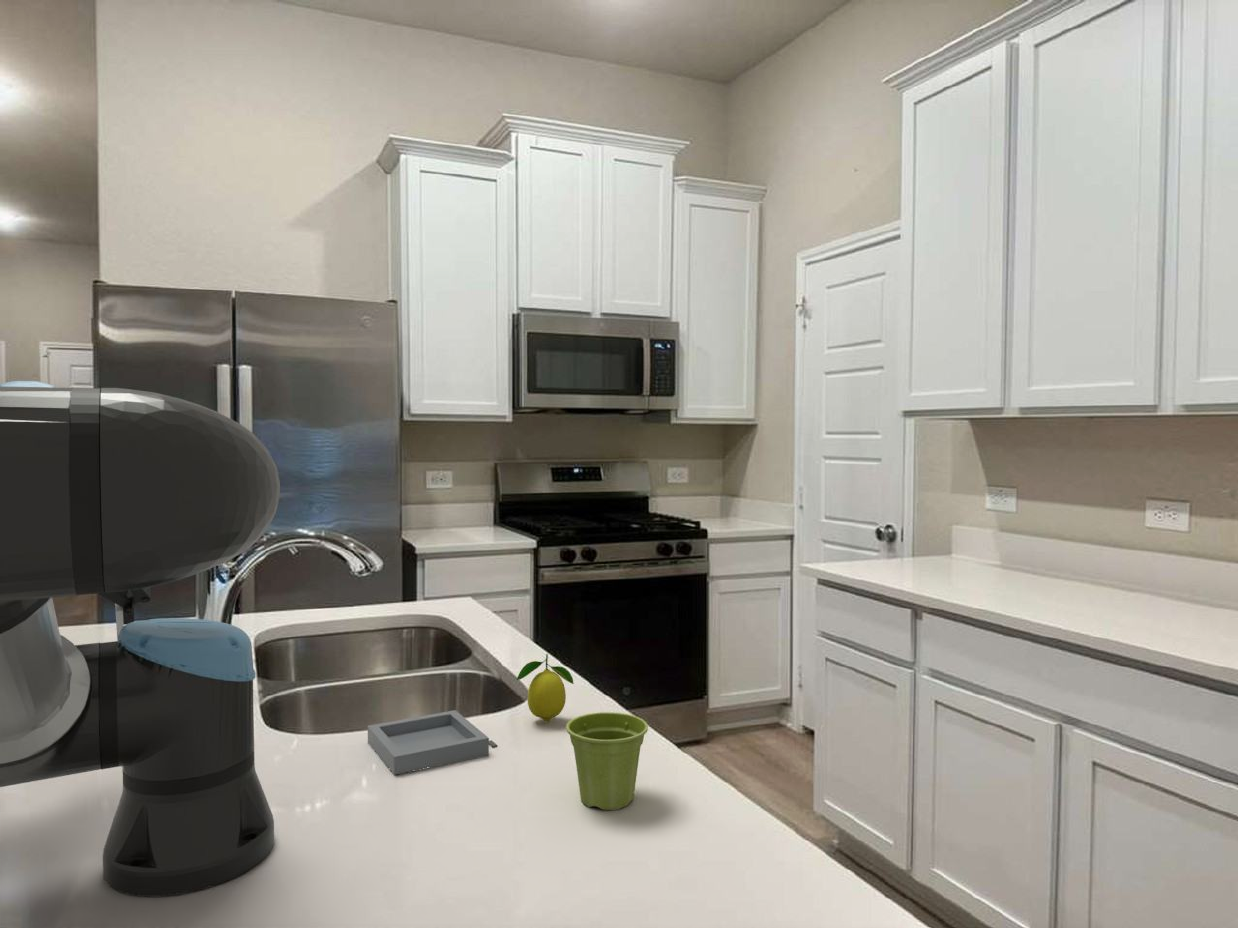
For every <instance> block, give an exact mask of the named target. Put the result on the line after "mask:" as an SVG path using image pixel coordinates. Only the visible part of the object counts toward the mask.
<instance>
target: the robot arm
mask: <svg viewBox="0 0 1238 928" xmlns="http://www.w3.org/2000/svg"><path fill="white" fill-rule="evenodd" d="M280 492H281V481H280V478H279V472H278V467H277V465H276V462H275V460H274V458H273V457H272V455H271V453H270V452H269V450H268V448H267V447H266V446H265V445H264V444H263V442H262V441H261V440H260V439H259V438H258V437H257V436H256V435H255V434H254V433H253V432H252V431H251V430H249V429H248V428H246V427H245V426H244V425H242V424H240V423H239V422H237V421H235V420H233V419H232V418H230V417H229V416H226V415H225V414H222V413H220V412H219V411H216V410H214V409H211V408H209V407H205V406H203V405H201V404H198V403H195V402H193V401H188V400H185V399H182V398H179V397H174V396H170V395H166V394H162V393H158V392H154V391H153V392H152V391H146V390H138V389H131V388H130V389H129V388H120V387H101V388H94V387H93V388H91V387H90V388H89V387H88V388H87V387H58V386H56V385H53V384H50V383H47V382H44V381H37V380H14V381H7V382H3V383H0V788H4V787H9V786H16V785H20V784H25V783H26V784H27V783H31V782H38V781H42V780H48V779H53V778H58V777H59V778H60V777H65V776H71V775H77V774H82V773H89V772H93V771H99V770H106V769H113V768H117V767H121V769H122V793H121V795H120V799H119V802H118V804H117V807H116V811H115V814H114V815H113V816H114V817H113V819H112V823H111V825H110V829H109V830H108V831H109V832H108V834H107V837H106V841H105V844H104V847H103V851H102V878H103V881H104V882H105V883H106V885H107V886H108V887H109V888H111V889H113V890H114V891H117V892H119V893H122V894H126V895H131V896H138V897H139V896H140V897H141V896H142V897H162V896H163V897H164V896H165V897H166V896H173V895H178V894H179V895H181V894H185V893H190V892H195V891H199V890H203V889H206V888H210V887H213V886H216V885H219V884H222V883H225V882H227V881H229V880H232V879H233V878H236V877H238V876H240V875H242V874H244V873H246V872H247V871H249V870H251V869H253V868H254V867H256V866H257V865H258V864H260V863H261V861H263V860H264V859H265V858H267V856H268V855H269V853H270V852H271V851H272V849H273V847H274V843H275V822H274V819H275V818H274V814H273V812H272V809H271V806H270V805H269V802H268V800H267V797H266V794H265V792H264V789H263V787H262V784H261V782H260V779H259V776H258V773H257V772H256V766H255V723H254V722H255V719H254V715H255V713H254V679H256V675H257V674H256V669H255V668H254V659H253V644H252V641H251V639H250V638H251V637H250V636H249V635H248V634H247V633H246V632H245V630H243V629H241V628H240V627H238V626H235V625H233V624H230V623H225V622H223V621H217V620H216V621H215V620H209V619H202V618H184V617H182V618H180V617H168V618H167V617H164V618H162V617H161V618H160V617H159V618H150V619H147V620H136V621H135V606H136V604H138V603H142V604H147V603H149V602H150V601H151V591H150V589H151V587H152V588H153V587H156V586H159V585H165V584H169V583H173V582H176V581H179V580H182V579H185V578H188V577H192V576H194V575H197V574H200V573H202V572H205V571H207V570H210V569H211V568H214V567H216V566H219V565H221V564H223V563H226V562H228V561H230V560H232V559H234V558H236V557H237V556H239V555H240V554H242V553H244V552H245V551H246V550H247V549H249V548H250V547H251V546H253V545H255V544H256V543H257V542H258V540H260V539H261V537H262V536H263V535H264V534H265V533H266V531H267V530H268V528H269V527H270V526H271V524H272V521H273V519H274V517H275V515H276V513H277V510H278V505H279V501H280V494H281V493H280ZM95 594H98V595H100V596H102V597H104V598H105V599H107V600H108V601H110V602H112V603H114V606H115V608H114V609H115V624H116V625H115V626H116V627H115V628H116V640H114V641H107V642H92V643H83V644H75V643H73V642H72V641H71V640H69V639H68V638H67V637H65V636H64V635H61V633H60V629H59V627H60V626H59V623H58V618H57V614H56V609H55V604H54V598H63V597H72V596H84V595H95Z"/></svg>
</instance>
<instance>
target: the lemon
mask: <svg viewBox="0 0 1238 928" xmlns="http://www.w3.org/2000/svg"><path fill="white" fill-rule="evenodd" d="M548 655H549V654H548V653H546V654H545V659H544V660H543V661H537V660H534V661H530V662H528V663H526V664H525V665H524V666H523V667H522V668H521V670H520V672H519V673H518V675H517V677H516V681H518V680H519V681H520V680H522V679H524V678H526V677H527V676H529V674H531V673H532V672H534V671H535V670H537V669H538V668H539V667H540V666H541V665H542V664H544V663H545V669H544V670H543V671H540V672H538V673H536V674H535V676H534V677H533V678H532V680H531V682H530V684H529V686H528V690H527V698H526V699H527V700H526V701H527V705H528V709H529V711H530V712H531V714H532V715H533V716H535V717H537V718H539V719H542V720H543V721H544V722H545V723H550V722H551V720H552V719H553V718H556V717H557V716H559V715H560V714H561V712H562V711H563V709H564V707H565V705H566V699H567V698H566V695H567V694H566V693H567V692H566V687H565V684H564V682H563V679H564V680H565V681H566V682H567V683H570V684H572V685H574V679H573V675H572V674H571V673H570V671H569V670H568V669H566V667H563V666H559V665H556V666H551V665H549V664H548V660H549V659H548V658H549V657H548ZM548 667H550V668H549V669H548ZM550 669H551V670H552V671H551V670H550Z"/></svg>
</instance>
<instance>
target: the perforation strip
mask: <svg viewBox="0 0 1238 928" xmlns="http://www.w3.org/2000/svg"><path fill="white" fill-rule="evenodd" d="M482 733H483V734H485V733H484V732H482ZM489 744H490V745H491V746H492V747H491V746H490V745H489V746H490V747H491V748H497V747H498V743H497V744H496V742H494V741H493V740H489Z"/></svg>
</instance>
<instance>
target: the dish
mask: <svg viewBox="0 0 1238 928" xmlns="http://www.w3.org/2000/svg"><path fill="white" fill-rule="evenodd" d="M483 733H484V732H483V731H481V730H480V729H479V728H477V726H475V725H474V724H472V722H470V721H469V720H468V719H467V718H465V716H463V715H462V714H461V713H459V712H458V711H457V710H455V709H454V710H448V711H443V712H438V713H433V714H432V713H431V714H426V715H421V716H420V715H419V716H415V717H409V718H403V719H398V720H392V721H388V722H386V721H385V722H382V723H376V724H370V725H369V724H368V725H367V744H368V745H369V744H370V745H371V746H372V747H371V746H370V745H369V746H370V747H371V749H372V750H373V749H374V750H375V751H376V752H375V751H374V750H373V751H374V752H375V754H376V755H377V754H378V755H379V756H380V757H379V756H378V755H377V756H378V757H379V759H380V760H381V759H382V760H381V761H382V763H384V765H385V764H386V765H387V766H386V765H385V766H386V767H387V768H388V767H389V768H390V769H389V768H388V769H389V771H390V770H391V771H392V772H391V771H390V772H391V773H392V775H394V776H397V775H396V774H399V775H402V774H401V773H403V774H406V773H405V772H408V773H412V772H411V771H413V770H417V771H420V770H419V769H422V770H424V769H423V768H427V767H432V768H436V767H439V766H440V765H441V766H444V764H446V765H449V763H450V764H455V763H460V762H463V761H469V760H473V759H477V758H482V757H487V755H488V756H489V755H490V751H489V750H490V745H489V741H490V738H489V737H488V736H487V735H486V734H485V733H484V734H483ZM454 762H455V763H454ZM427 769H428V768H427ZM413 772H414V771H413Z"/></svg>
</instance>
